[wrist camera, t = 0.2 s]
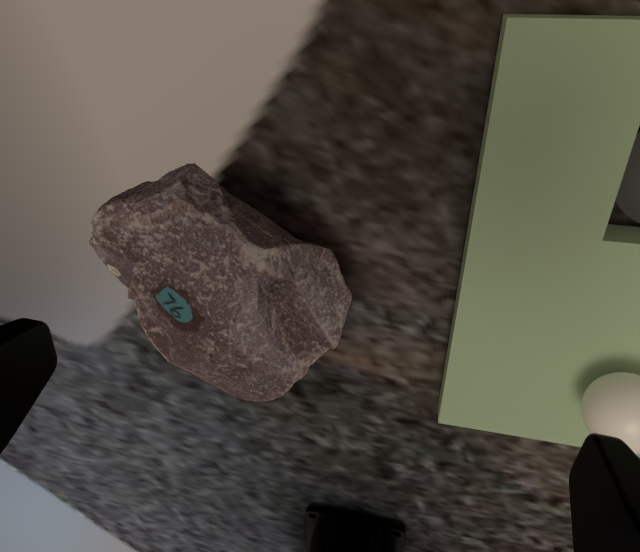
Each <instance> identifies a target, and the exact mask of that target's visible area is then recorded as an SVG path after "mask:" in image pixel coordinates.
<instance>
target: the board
mask: <svg viewBox="0 0 640 552" xmlns="http://www.w3.org/2000/svg"><path fill="white" fill-rule="evenodd" d="M639 125H640V16H609V15H545V14H503V18H502V24H501V30H500V36H499V42H498V48H497V54H496V60H495V66H494V72H493V79H492V85H491V91H490V97H489V103H488V109H487V115H486V121H485V127H484V133H483V139H482V145H481V151H480V157H479V163H478V169H477V175H476V181H475V187H474V193H473V199H472V205H471V211H470V217H469V223H468V229H467V235H466V241H465V247H464V253H463V259H462V265H461V271H460V277H459V283H458V289H457V295H456V301H455V307H454V313H453V319H452V325H451V331H450V337H449V343H448V349H447V355H446V361H445V367H444V373H443V379H442V385H441V391H440V397H439V412H438V423H442V424H448V425H454V426H460V427H466V428H471V429H477V430H483V431H489V432H495V433H501V434H507V435H513V436H519V437H524V438H530V439H536V440H542V441H548V442H554V443H560V444H566V445H572V446H577V447H582V445H583V442H584V440H585V439H586V437H587V436H588V435H589V434H591V433H590V432H589V431H588V429H587V427H586V426H585V424H584V421H583V418H582V413H581V402H582V398H583V395H584V393H585V391H586V389H587V388H588V386H589V385H590V384H591V383H592V382H593V381H594V380H596V379H597V378H599V377H601V376H603V375H606V374H609V373H614V372H628V373H634V374H637V375H640V227H635V226H624V225H613V224H608V221H609V218H610V215H611V212H612V209H613V206H614V203H615V202H616V204H617V205H618V207H619V208H620V209H621V211H622V212H623V213H624V214H625V215H627V216H628V217H629V218H630V219H632V220H634V221H635V222H637V223H640V130H639V131H638V128H639ZM637 131H638V132H637ZM636 455H637V456H638V457H640V454H636Z"/></svg>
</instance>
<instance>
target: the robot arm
mask: <svg viewBox="0 0 640 552" xmlns="http://www.w3.org/2000/svg"><path fill="white" fill-rule="evenodd" d="M56 365H57V355H56V351H55V347H54V344H53V340H52V337H51V333H50V329H49V327H48V326H47V325H46V323H44V322H42V321H38V320H33V319H27V318H20V319H17V320H14V321H11V322H8V323H5V324H3V325H0V454H1V453H2V451H3V450H4V449H5V447H6V446H7V444H8V443H9V441H10V440H11V438H12V437H13V435H14V434H15V432H16V431H17V429H18V428H19V426H20V425H21V423H22V421H23V420H24V418H25V417H26V415H27V414H28V412H29V410H30V409H31V407H32V406H33V404H34V402H35V401H36V399H37V398H38V396H39V395H40V393H41V391H42V390H43V388H44V387H45V385H46V383H47V382H48V380H49V379H50V377H51V376H52V374H53V372H54V371H55V368H56ZM569 491H570V506H571V520H572V534H573V548H574V552H640V458H639V457H638V456H637V455H636V454H635V453H634V452H633V451H632V449H631V448H630V447H629V446H628V445H627V444H626V443H625V442H624V441H622V440H621V439H619V438H617V437H612V436H607V435H602V434H597V433H591V434H589V435H588V436H587V437H586V439H585V440H584V442H583V445H582V447H581V449H580V451H579V453H578V455H577V457H576V459H575V461H574V463H573V465H572V468H571V471H570V476H569ZM305 534H306V552H403V545H404V538H405V527H404V526H402V525H401V524H397V523H392V522H388V521H383V520H378V519H374V518H369V517H364V516H359V515H355V514H350V513H345V512H340V511H336V510H331V509H326V508H321V507H317V506H308V507H307V509H306V513H305Z"/></svg>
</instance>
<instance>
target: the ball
mask: <svg viewBox="0 0 640 552" xmlns="http://www.w3.org/2000/svg"><path fill="white" fill-rule="evenodd" d="M581 413H582V418H583V421H584V424H585V426H586V427H587V429H588V431H589V432H590V433H597V434H602V435H607V436H612V437H617V438H619V439H621V440H622V441H624V442H625V443H626V444H627V445H628V446H629V447H630V448H631V449H632V451H633V452H634V453H635V454H640V375H637V374H634V373H628V372H614V373H609V374H606V375H603V376H601V377H599V378H597V379H596V380H594V381H593V382H592V383H591V384H590V385H589V386H588V388H587V389H586V391H585V393H584V395H583V398H582V402H581Z"/></svg>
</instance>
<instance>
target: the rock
mask: <svg viewBox="0 0 640 552" xmlns="http://www.w3.org/2000/svg"><path fill="white" fill-rule="evenodd" d="M92 217H93V218H92V227H93V232H92V238H91V239H90V240H89V243H90V245H91V247H92V248H93V250H94V251H95V252H96V254H97V255H98V257H99V258H100V259H101V260H102V261H103V263H104V264H105V265H106V266H107V268H108V269H109V270H110V271H111V272H112V273H113V274H114V275H115V276H116V277H117V278H118V279H119V280H120V281H121V282H122V283H123V284H124V285H125V286H126V287H127V288H128V289H129V290H128V298H130V299H133V302H134V304H135V307H136V309H137V312H138V314H139V322H140V324H141V325H142V327H143V329H144V331H145V333H146V336H147V337H148V339H149V340H150V341H151V342H152V343H153V345H154V346H155V347H156V348H157V350H158V351H159V352H160V353H161V354H162V355H163V356H164V357H165V358H166V360H167V361H168V362H170V363H171V364H173V365H175V366H177V367H179V368H182V369H184V370H187V371H189V372H191V373H193V374H195V375H196V376H198V377H199V378H201V379H202V380H204V381H206V382H208V383H210V384H212V385H214V386H216V387H218V388H220V389H222V390H223V391H225V392H227V393H229V394H232V395H235V396H237V397H239V398H242V399H244V400H251V401H261V402H264V401H269V400H273V399H275V398H278V397H281V396H282V395H284V394H285V393H286V392H287V391H288V390H289V389H290V388H291V387H292V386H293V384H294V383H295V382H296V381H298V380H300V379H302V377H303V376H304V375H305V374H307V373H308V370H309V366H310V365H311V364H314V362H315V361H316V360H317V359H318V358H319V357H321V356H322V355H323V354H324V353H325V352H326V351H327V350H328V349H330V348H331V349H334V348H336V347H337V346H338V343H339V340H340V337H341V334H342V327H343V325H344V323H345V320H346V316H347V313H348V309H349V306H350V303H351V300H352V294H351V291H350V290H349V288H348V287H347V286H346V284H345V280H344V277H343V275H342V273H341V272H340V268H339V264H338V262H337V260H336V257H335V255H334V253H333V251H332V250H331V249H327V248H325V247H322V246H319V245H316V244H312V243H307V242H304V241H302V240H298V239H296V238H294V237H293V236H292V235H291V234H289V233H288V232H287V231H286V230H284V229H282V228H281V227H279V226H278V225H277V224H275V223H274V222H273V221H272V220H270V219H269V218H268V217H266V216H265V215H263V214H262V213H260V212H259V211H257V210H255V209H254V208H252V207H251V206H249V205H247V204H246V203H244V202H243V201H241V200H239V199H237V198H235V197H234V196H232V195H231V194H229V193H228V192H227V191H226V190H225V189H224V188H223V187H221V186H220V185H219V183H218V182H217V181H216V180H215V179H213V178H212V177H211V176H209V175H208V174H207V173H206V172H205V171H203V170H202V169H201V168H200V167H198V166H197V165H196V164H186V165H185V166H182V167H180V168H177V169H175V170H173V171H171V172H169V173H167V174H166V175H164V176H163V177H162V178H161V179H160V180H158V181H155V182H149V181H147V182H144V183H142V184H140V185H138V186H136V187H134V188H131V189H129V190H127V191H125V192H123V193H121V194H119V195H117V196H115V197H113V198H111V199H110V200H109V201H107V202H106V203H105V204H103V205H102V206H101V207H100V208H99V209H98V211H97V212H96V213H95V214H94V216H92Z"/></svg>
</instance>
